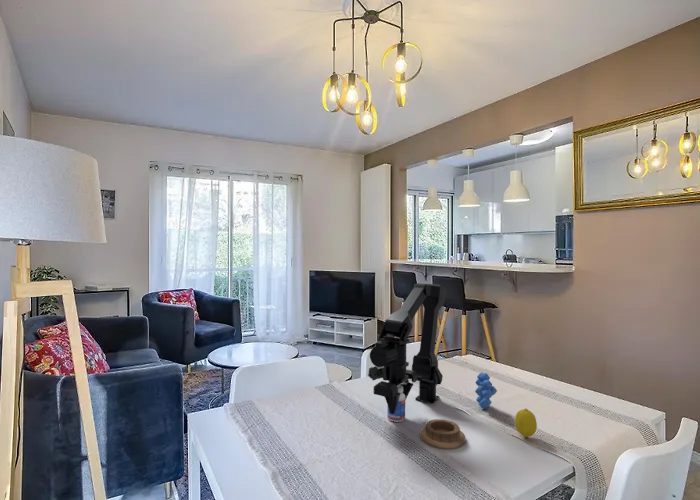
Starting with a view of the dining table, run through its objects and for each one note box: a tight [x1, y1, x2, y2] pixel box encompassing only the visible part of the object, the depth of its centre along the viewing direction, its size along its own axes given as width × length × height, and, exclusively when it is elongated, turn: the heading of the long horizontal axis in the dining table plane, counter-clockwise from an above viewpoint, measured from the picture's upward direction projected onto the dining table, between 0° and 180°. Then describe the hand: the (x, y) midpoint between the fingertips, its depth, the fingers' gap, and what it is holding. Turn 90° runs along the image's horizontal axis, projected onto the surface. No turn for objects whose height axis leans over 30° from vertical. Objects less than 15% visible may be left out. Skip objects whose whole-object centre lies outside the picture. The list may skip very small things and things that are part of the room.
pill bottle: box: [386, 385, 406, 423], centre depth 122 cm, size 6×5×10 cm
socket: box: [419, 418, 466, 450], centre depth 110 cm, size 12×12×3 cm
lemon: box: [514, 408, 538, 438], centre depth 110 cm, size 6×6×8 cm
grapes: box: [474, 372, 498, 410], centre depth 130 cm, size 12×7×12 cm, turn 177°
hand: (396, 410), depth 122 cm, fingers closed on pill bottle, 5 cm apart
